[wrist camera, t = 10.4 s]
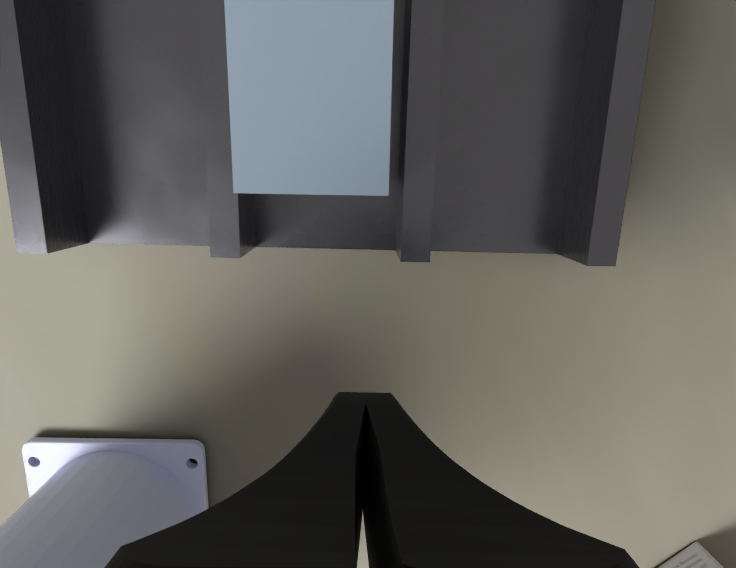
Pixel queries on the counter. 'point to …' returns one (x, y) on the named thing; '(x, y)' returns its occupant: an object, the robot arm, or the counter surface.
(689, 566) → the skincare box
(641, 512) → the counter surface
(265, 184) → the rectangular block
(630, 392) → the counter surface
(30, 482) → the robot arm
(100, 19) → the rack
